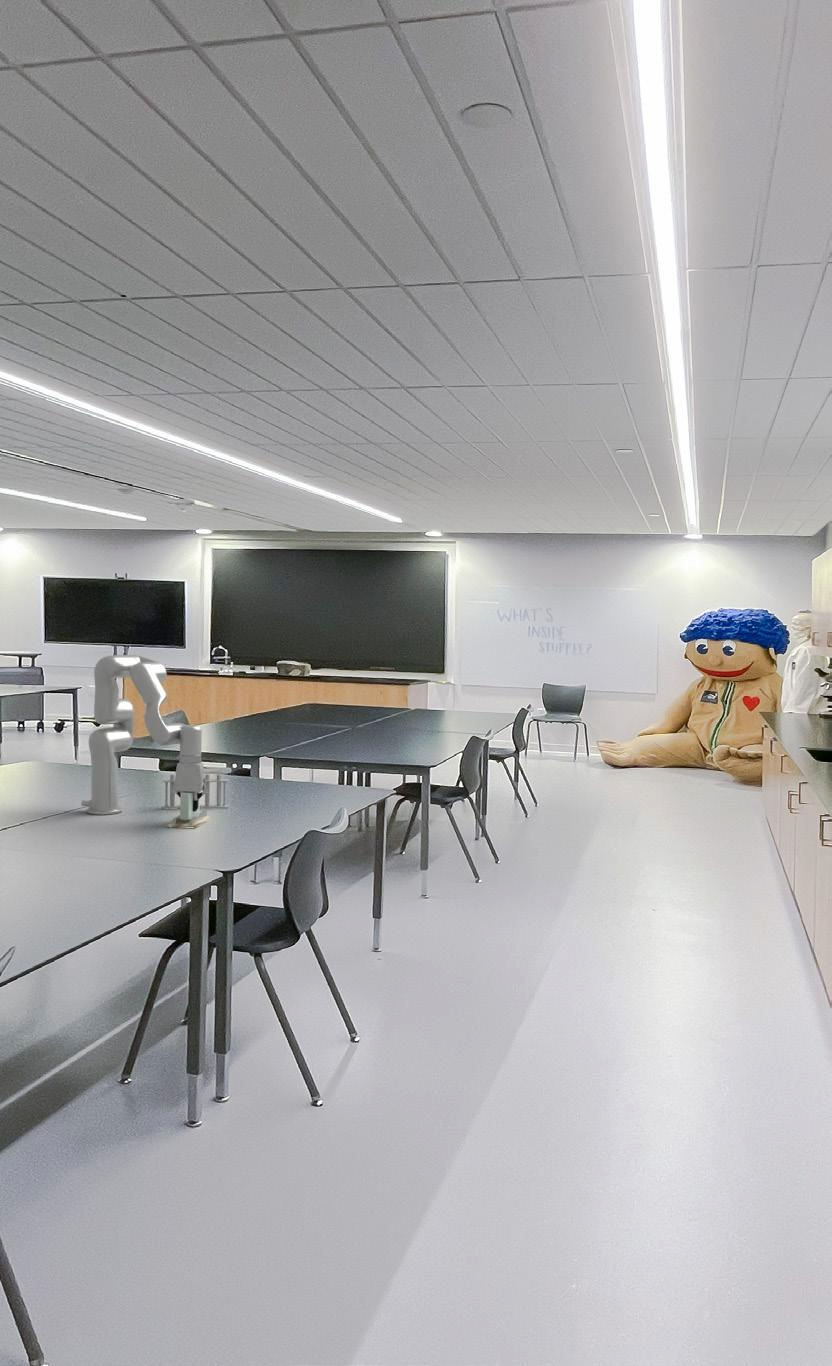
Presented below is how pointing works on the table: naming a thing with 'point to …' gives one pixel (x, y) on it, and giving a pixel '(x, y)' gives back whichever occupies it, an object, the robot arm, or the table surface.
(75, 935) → the table surface
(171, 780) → the test tube rack
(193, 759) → the robot arm
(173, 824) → the bottom track
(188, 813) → the door panel
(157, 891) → the table surface
